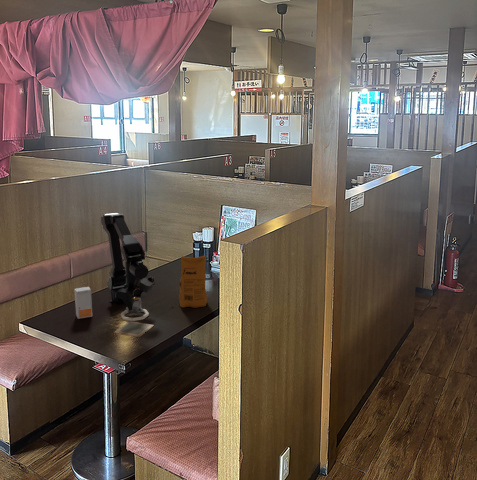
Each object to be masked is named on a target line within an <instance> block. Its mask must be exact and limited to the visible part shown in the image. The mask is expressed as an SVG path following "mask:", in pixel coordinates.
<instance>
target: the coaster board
mask: <svg viewBox="0 0 477 480" xmlns="http://www.w3.org/2000/svg"><path fill="white" fill-rule="evenodd" d="M154 325H155V324H149V323H143V322H139V321H129V320H128V322H126V323H125V324H123V325H122V326H121V327H119V328H118V329H116V330H115V331H113V333H114V334H119V335H124V336H129V337H136V338H141V337H142V336H143V335H145V334H146V333H147V332H148V331H149V330H151V329H152V328H153V327H154ZM145 332H146V333H145Z"/></svg>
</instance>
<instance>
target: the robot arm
mask: <svg viewBox="0 0 477 480" xmlns="http://www.w3.org/2000/svg"><path fill="white" fill-rule="evenodd" d="M100 223H101V225H102V227H103V230H104V232H106V234H107V237H108V243H109V244H108V245H109V251H110V257H111V270H110V272H109V278H108V281H107V283H106V284H107V288H108V289H109V290H110V295H111V299H110V300H109V303H115V304H121V305H122V304H125V305H126V308H127V307H128V309H129V310H132V305H133V298H134V297H135V296H139V297H141V299H142V298H143V294H144V293H149V292H150V291H152V290H153V286H155V278H154V277H153V276H149V277H147V276H148V274H149V268H148V266H147V265H145V264H144V260H146V253H145V250H144V247H143V245H142V244H141V242H139V240H138V238H136V237H134V236H133V235H132V233H131V231H130V229H129V226H128V224H127V222H126V221H125V216H124V214H123V213H118V212H114V213H103V215H102V216H101V217H100ZM123 260H124V261H123Z"/></svg>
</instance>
